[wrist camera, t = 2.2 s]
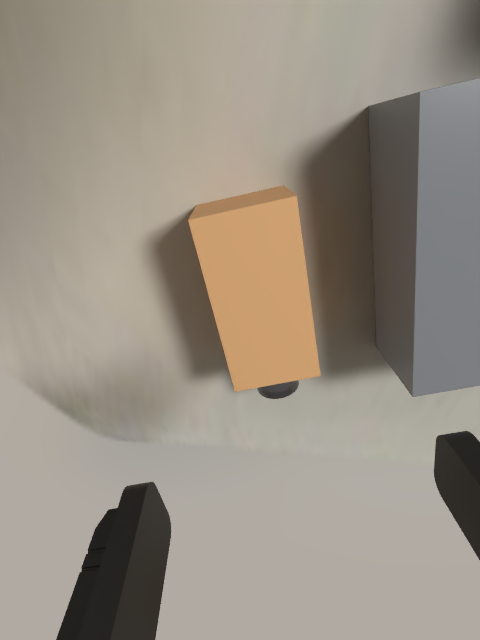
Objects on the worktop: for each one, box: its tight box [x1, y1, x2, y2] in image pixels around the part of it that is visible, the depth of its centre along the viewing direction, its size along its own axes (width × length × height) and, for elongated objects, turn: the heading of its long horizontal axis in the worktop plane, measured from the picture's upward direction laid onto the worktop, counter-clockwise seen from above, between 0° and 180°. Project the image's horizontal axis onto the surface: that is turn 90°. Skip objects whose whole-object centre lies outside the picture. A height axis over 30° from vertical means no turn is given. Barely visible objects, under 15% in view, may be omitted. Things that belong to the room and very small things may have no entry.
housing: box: [188, 186, 321, 399], centre depth 22 cm, size 13×6×5 cm, turn 12°
